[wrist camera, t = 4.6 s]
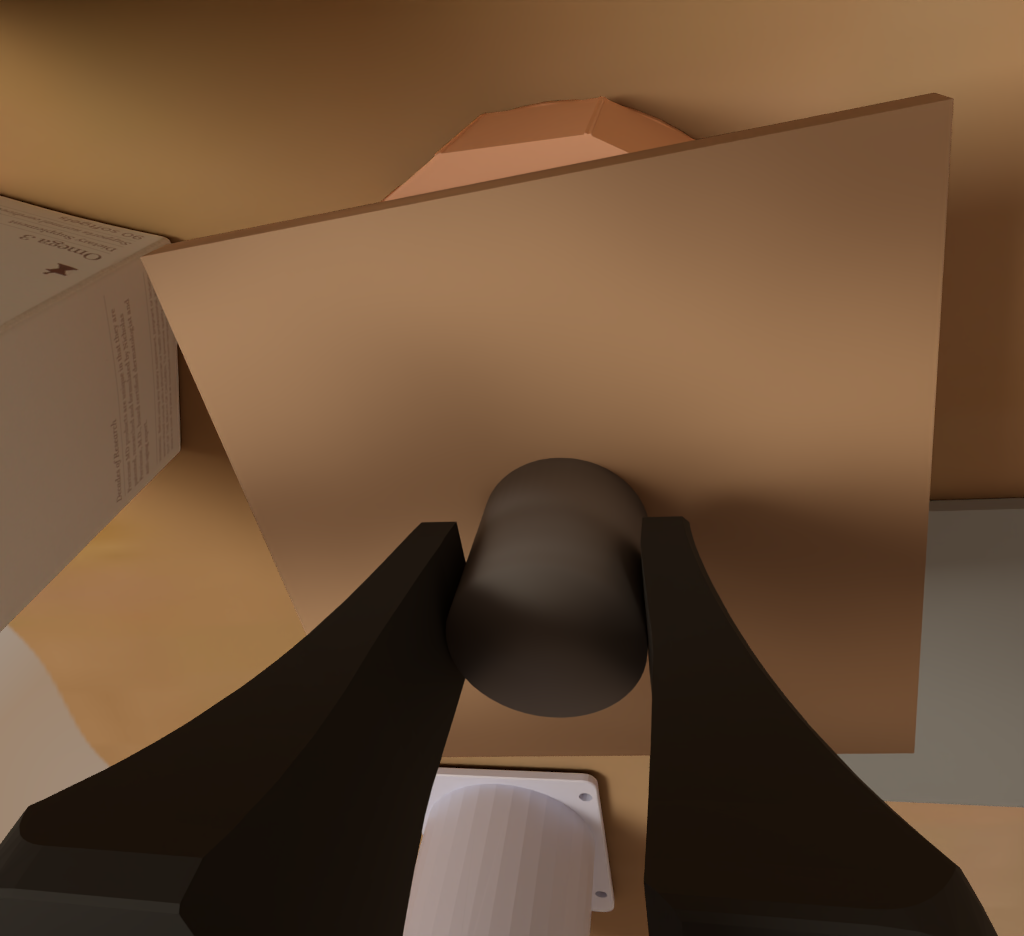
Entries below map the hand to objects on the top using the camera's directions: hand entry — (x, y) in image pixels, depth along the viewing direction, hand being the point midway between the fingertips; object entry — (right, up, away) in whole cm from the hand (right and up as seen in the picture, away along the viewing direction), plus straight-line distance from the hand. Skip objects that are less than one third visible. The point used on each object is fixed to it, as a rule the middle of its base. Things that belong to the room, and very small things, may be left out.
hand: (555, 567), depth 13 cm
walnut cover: (0, +1, +2) cm, 2 cm away
